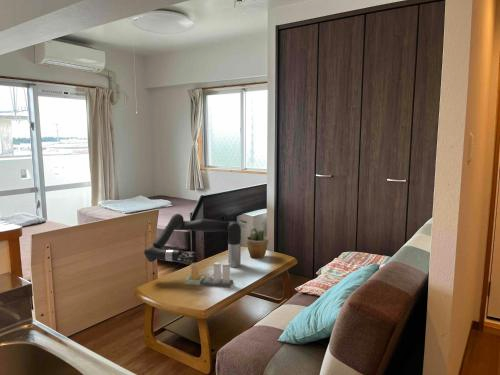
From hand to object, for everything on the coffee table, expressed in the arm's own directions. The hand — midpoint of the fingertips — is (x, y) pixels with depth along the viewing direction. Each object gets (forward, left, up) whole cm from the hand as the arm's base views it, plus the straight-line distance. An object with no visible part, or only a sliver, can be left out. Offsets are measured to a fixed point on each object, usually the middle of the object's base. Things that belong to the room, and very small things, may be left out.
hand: (196, 256), depth 247 cm
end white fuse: (0, +20, -16) cm, 25 cm away
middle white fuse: (0, +14, -16) cm, 21 cm away
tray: (0, -2, -18) cm, 18 cm away
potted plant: (-62, +29, -18) cm, 71 cm away
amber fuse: (0, -1, -17) cm, 17 cm away
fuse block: (0, +14, -18) cm, 23 cm away
